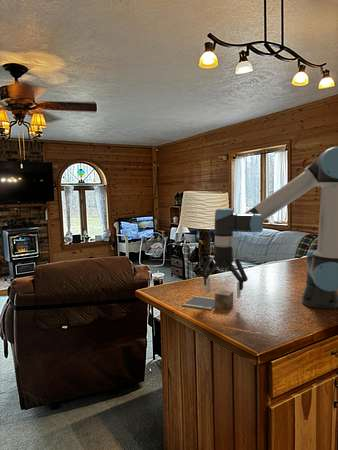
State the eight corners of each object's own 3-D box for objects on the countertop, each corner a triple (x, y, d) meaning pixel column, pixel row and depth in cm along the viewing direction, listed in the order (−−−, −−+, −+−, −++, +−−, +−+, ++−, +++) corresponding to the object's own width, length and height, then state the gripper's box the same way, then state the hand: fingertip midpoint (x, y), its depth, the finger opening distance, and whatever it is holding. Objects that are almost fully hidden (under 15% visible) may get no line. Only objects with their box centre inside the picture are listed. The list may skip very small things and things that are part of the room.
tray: (221, 301, 150) (221, 299, 150) (210, 311, 139) (210, 308, 139) (194, 298, 156) (194, 296, 156) (182, 306, 145) (182, 304, 145)
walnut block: (233, 305, 144) (233, 291, 144) (228, 309, 139) (228, 295, 138) (219, 303, 147) (219, 290, 147) (215, 307, 142) (215, 293, 141)
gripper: (255, 246, 138) (254, 296, 140) (199, 242, 150) (199, 289, 152) (251, 249, 131) (250, 302, 134) (192, 244, 143) (192, 293, 145)
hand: (223, 295), depth 143 cm, fingers open, 13 cm apart
